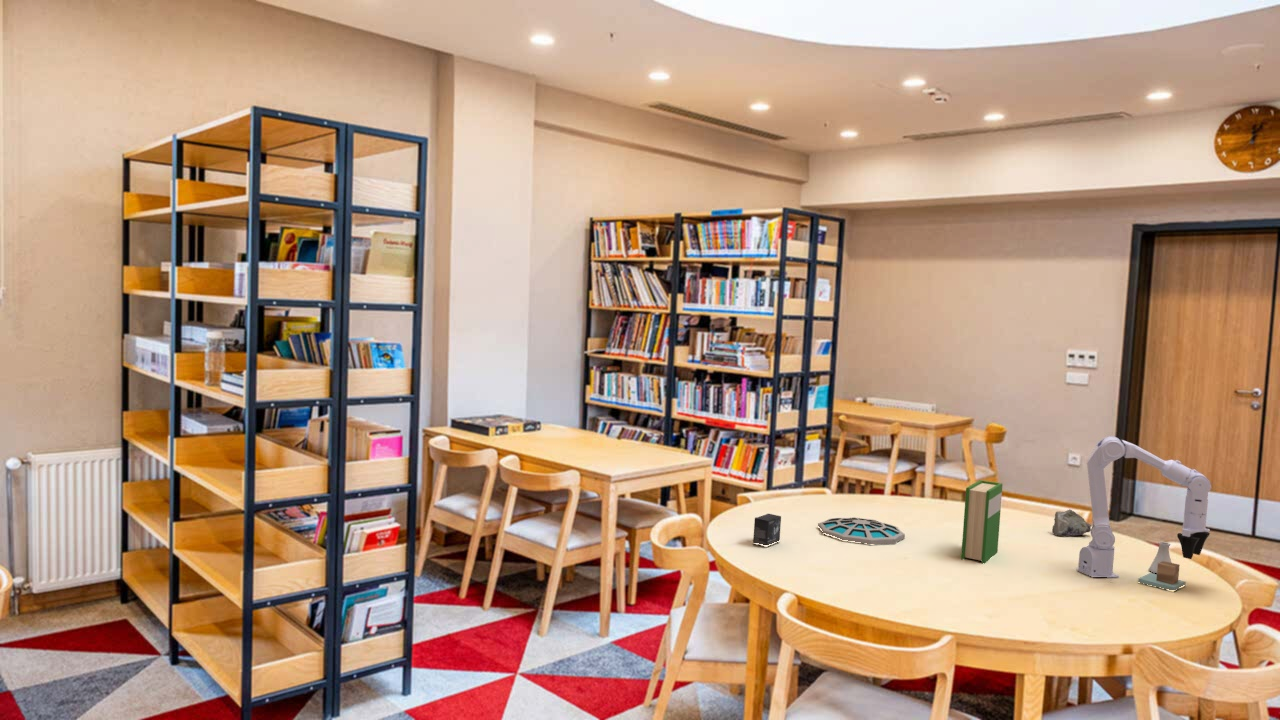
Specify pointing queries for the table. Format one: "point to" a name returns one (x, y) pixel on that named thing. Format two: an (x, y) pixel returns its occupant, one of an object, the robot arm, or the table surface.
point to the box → (767, 529)
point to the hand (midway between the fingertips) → (1191, 556)
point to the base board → (1152, 578)
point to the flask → (1160, 556)
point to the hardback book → (981, 520)
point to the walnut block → (1168, 572)
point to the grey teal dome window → (862, 530)
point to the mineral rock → (1069, 524)
